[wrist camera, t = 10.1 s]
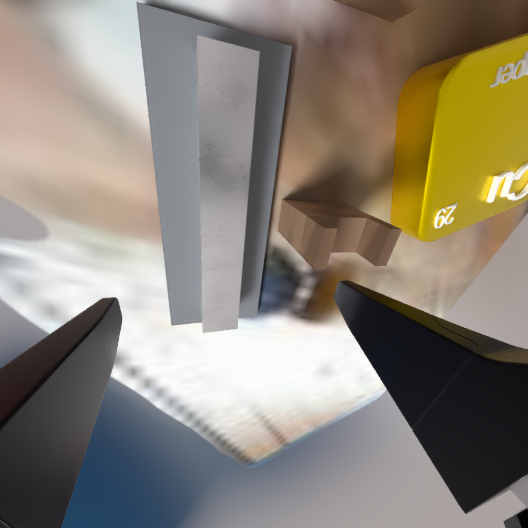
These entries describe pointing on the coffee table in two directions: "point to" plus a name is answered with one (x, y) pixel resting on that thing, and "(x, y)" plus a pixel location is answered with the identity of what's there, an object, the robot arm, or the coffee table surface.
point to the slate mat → (186, 150)
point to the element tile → (462, 141)
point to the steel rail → (223, 172)
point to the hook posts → (339, 214)
